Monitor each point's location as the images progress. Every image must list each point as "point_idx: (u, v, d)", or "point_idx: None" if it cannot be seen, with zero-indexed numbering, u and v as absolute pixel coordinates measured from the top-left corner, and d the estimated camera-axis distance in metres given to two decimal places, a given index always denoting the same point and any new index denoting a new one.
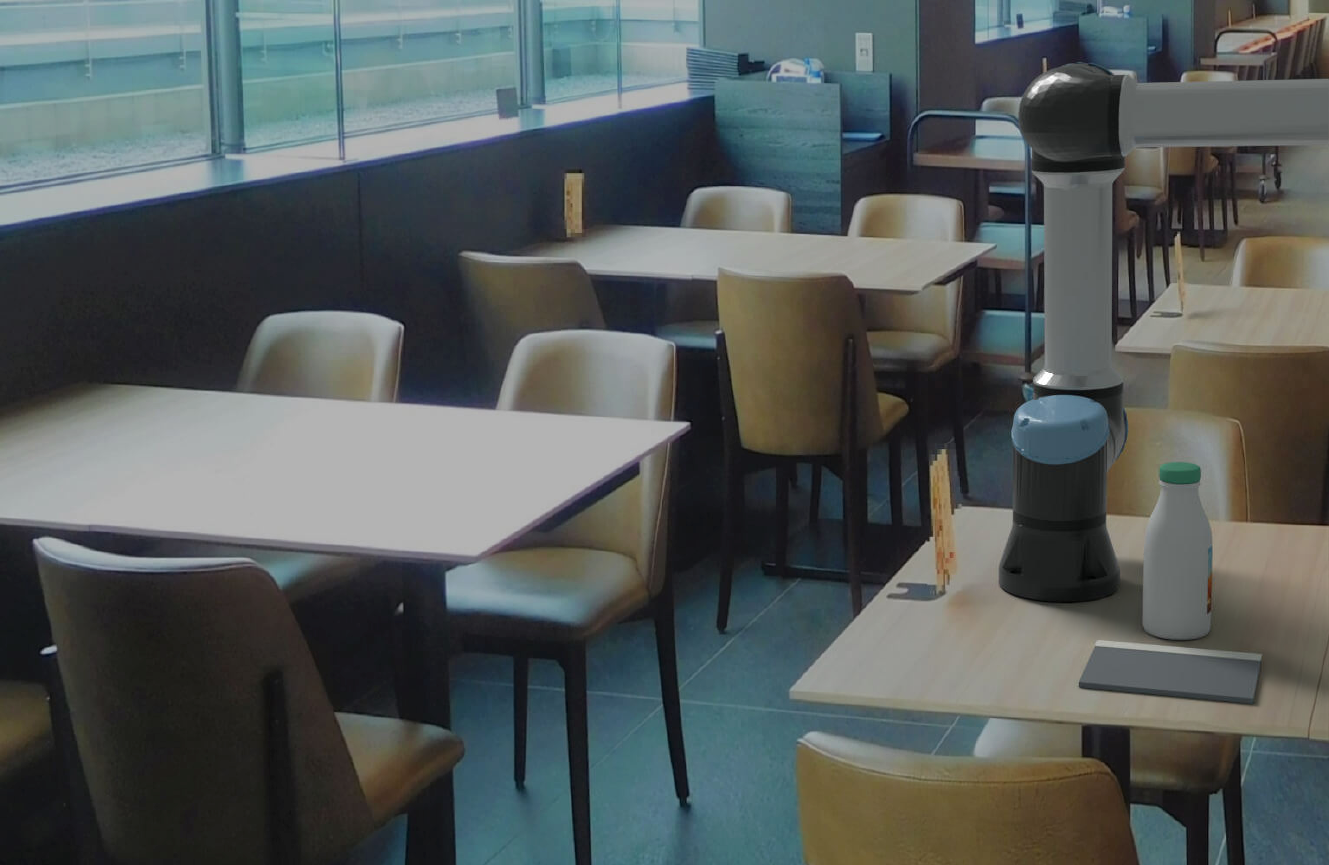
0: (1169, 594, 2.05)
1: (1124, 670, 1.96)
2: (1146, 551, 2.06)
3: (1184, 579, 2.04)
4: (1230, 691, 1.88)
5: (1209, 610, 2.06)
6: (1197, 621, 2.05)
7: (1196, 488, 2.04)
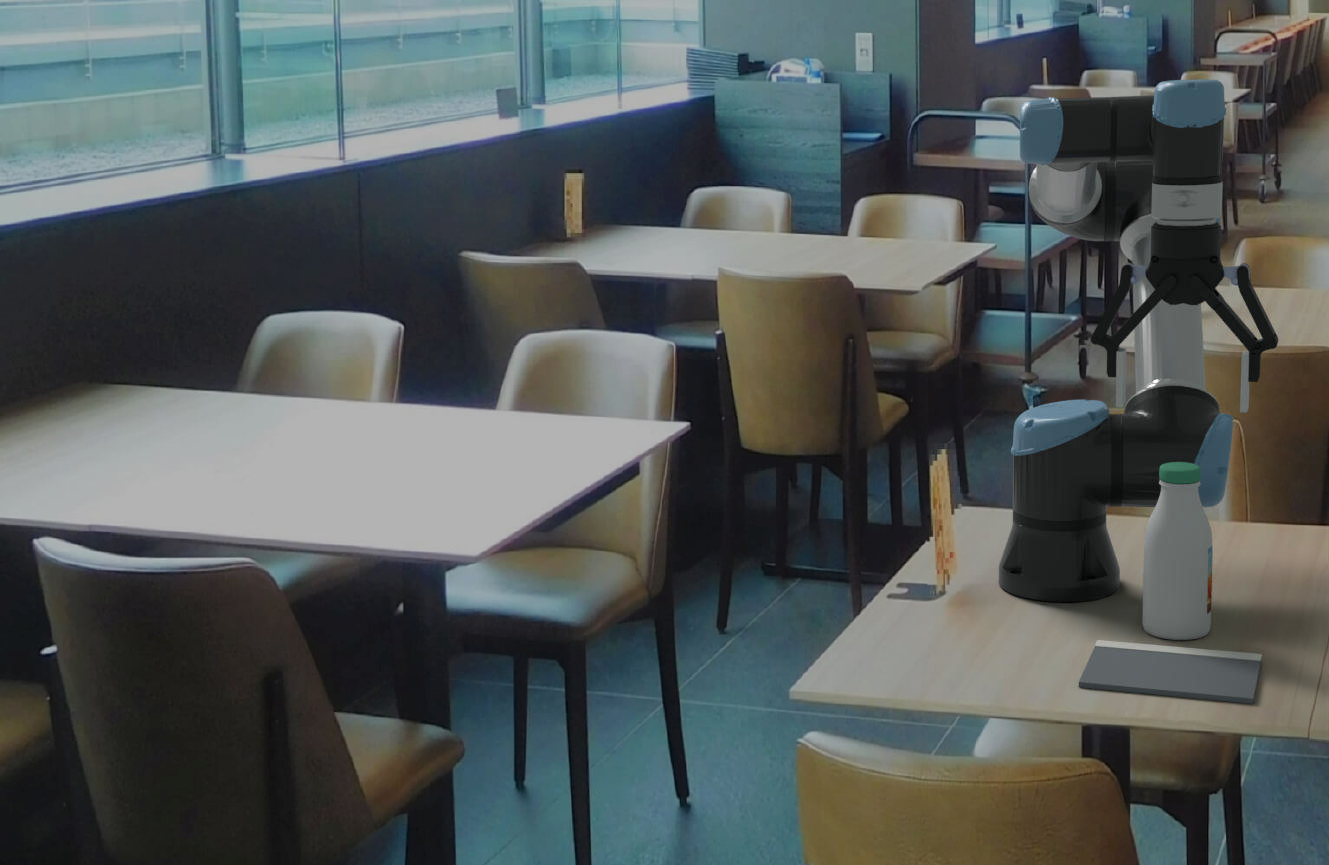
0: (1169, 594, 2.05)
1: (1124, 670, 1.96)
2: (1146, 551, 2.06)
3: (1184, 579, 2.04)
4: (1230, 691, 1.88)
5: (1209, 610, 2.06)
6: (1197, 621, 2.05)
7: (1196, 488, 2.04)
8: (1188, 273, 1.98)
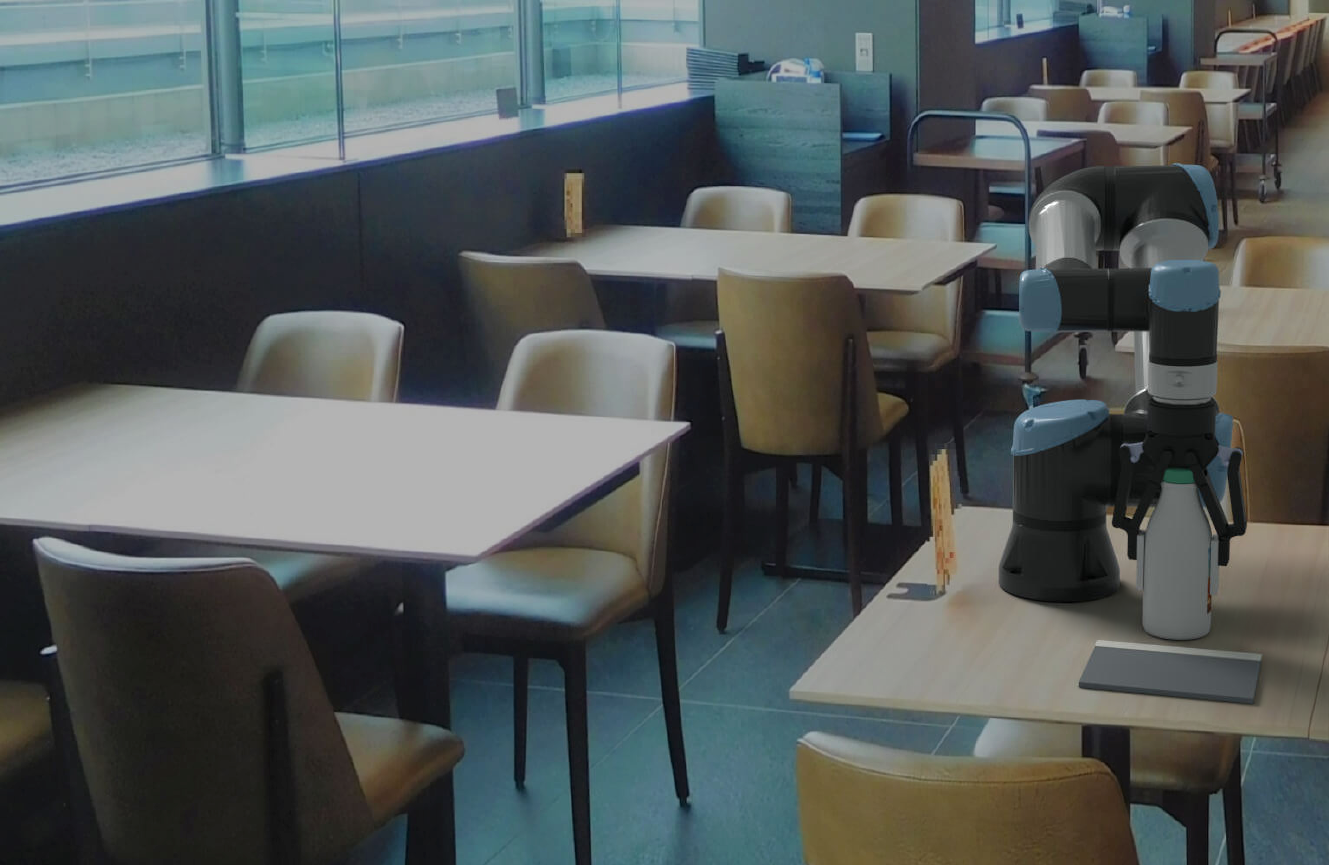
0: (1169, 594, 2.05)
1: (1124, 670, 1.96)
2: (1146, 551, 2.06)
3: (1184, 579, 2.04)
4: (1230, 691, 1.88)
5: (1209, 610, 2.06)
6: (1197, 621, 2.05)
7: (1196, 488, 2.04)
8: (1185, 441, 2.03)
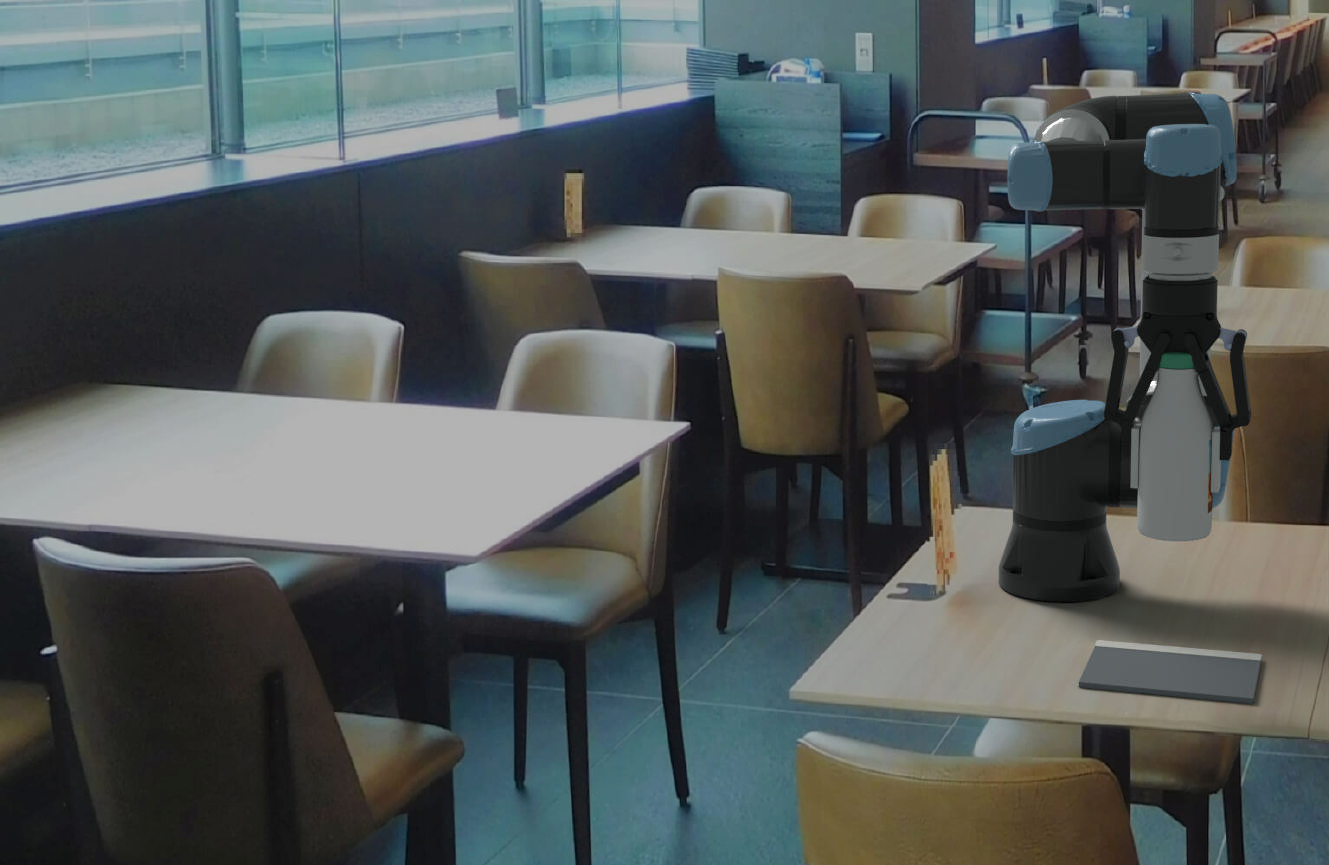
0: (1166, 491, 1.87)
1: (1124, 670, 1.96)
2: (1141, 445, 1.89)
3: (1183, 474, 1.86)
4: (1230, 691, 1.88)
5: (1210, 509, 1.89)
6: (1197, 520, 1.88)
7: (1196, 374, 1.86)
8: (1184, 323, 1.85)
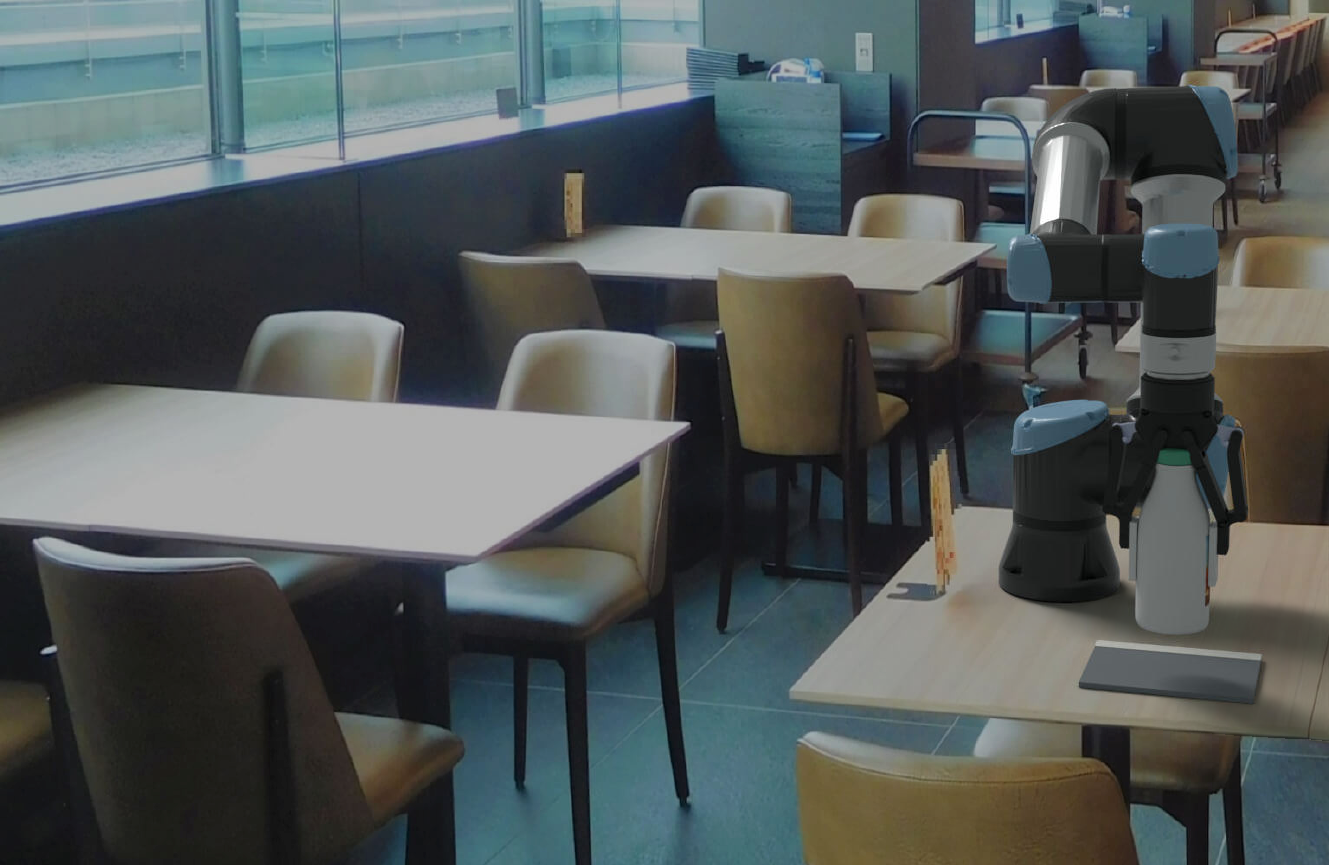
0: (1164, 585, 1.89)
1: (1124, 670, 1.96)
2: (1139, 538, 1.91)
3: (1180, 569, 1.88)
4: (1230, 691, 1.88)
5: (1207, 602, 1.91)
6: (1194, 614, 1.90)
7: (1193, 470, 1.88)
8: (1181, 420, 1.87)
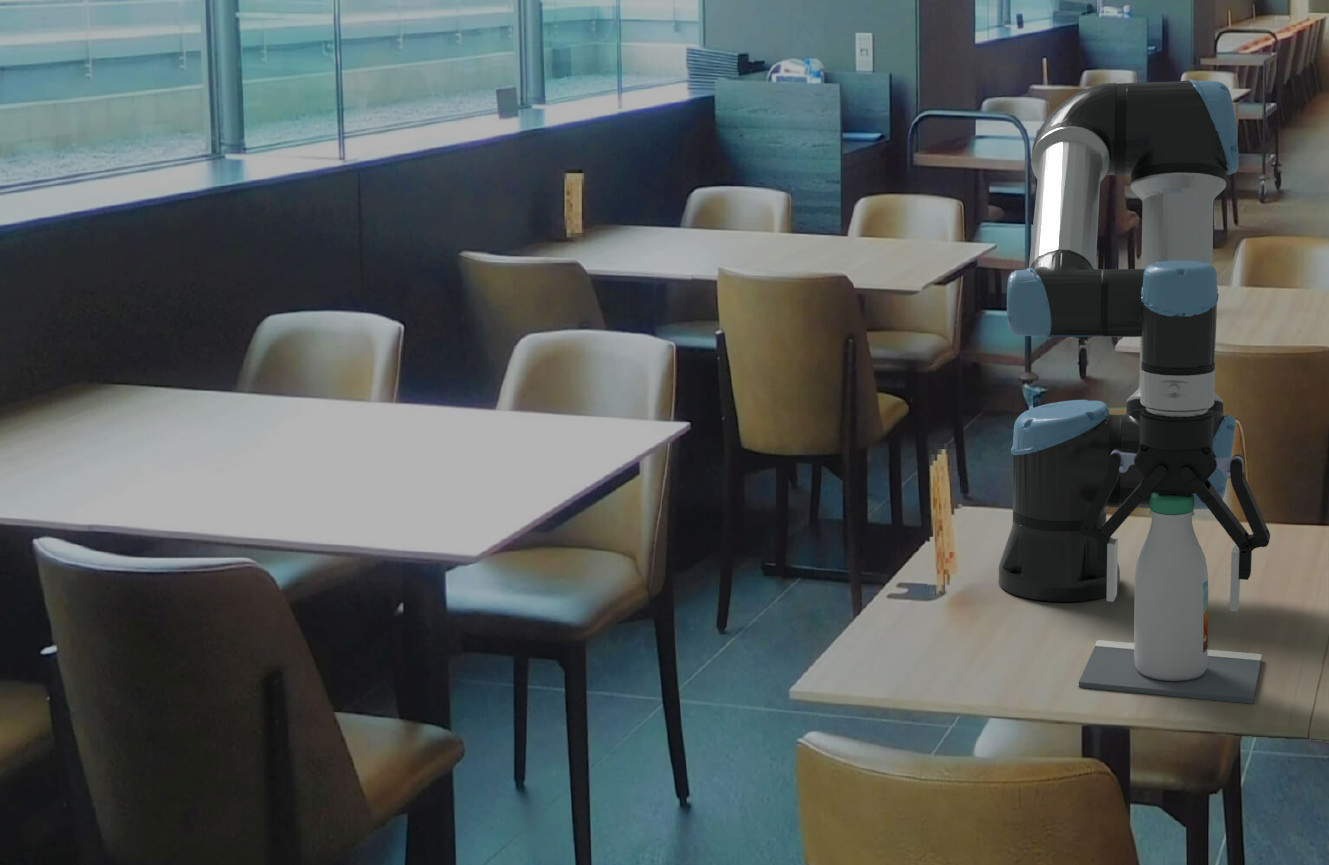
0: (1162, 633, 1.90)
1: (1124, 670, 1.96)
2: (1137, 586, 1.92)
3: (1178, 616, 1.89)
4: (1230, 691, 1.88)
5: (1205, 648, 1.92)
6: (1193, 660, 1.91)
7: (1189, 518, 1.89)
8: (1179, 462, 1.88)
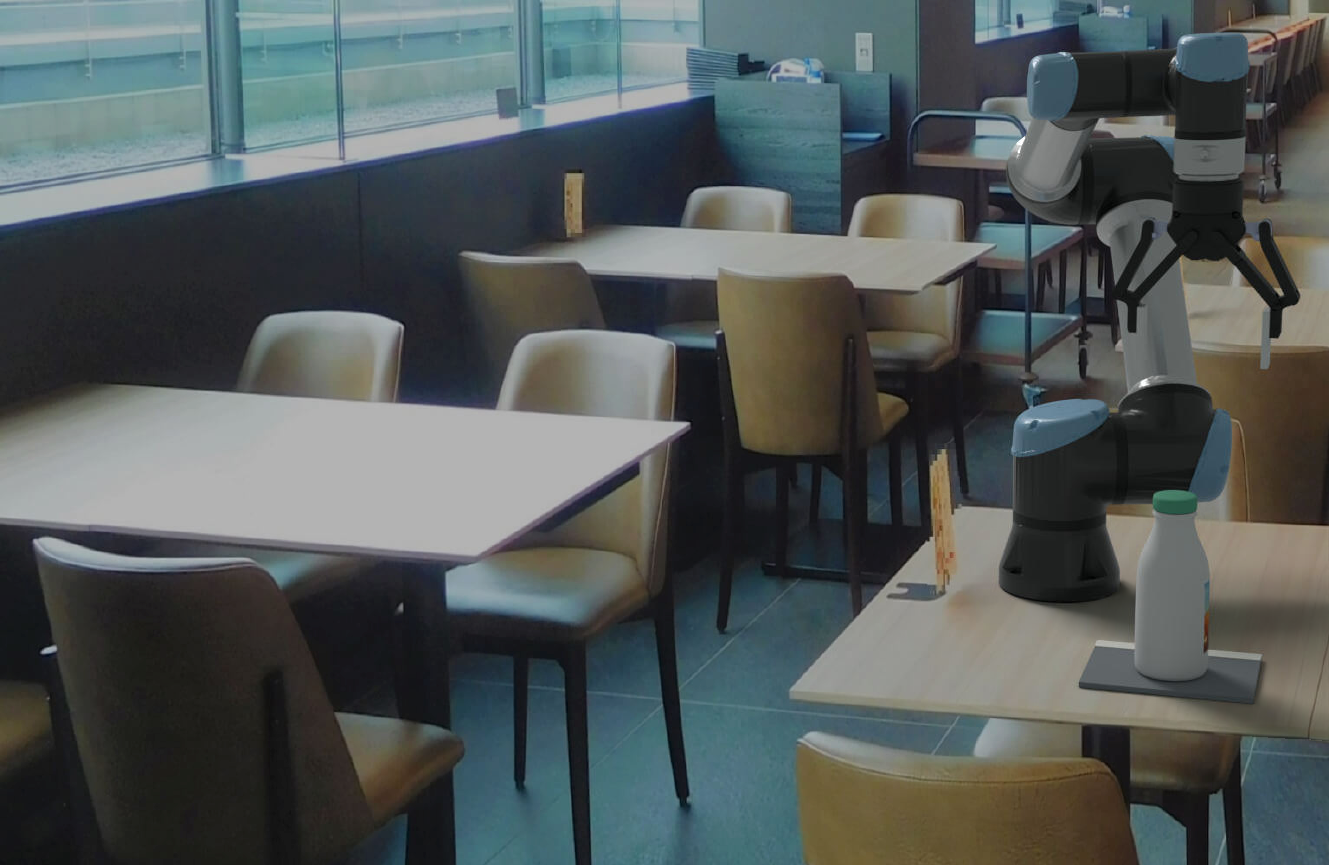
0: (1163, 633, 1.91)
1: (1124, 670, 1.96)
2: (1138, 585, 1.92)
3: (1179, 616, 1.89)
4: (1230, 691, 1.88)
5: (1206, 649, 1.92)
6: (1193, 661, 1.91)
7: (1192, 519, 1.89)
8: (1209, 228, 1.97)
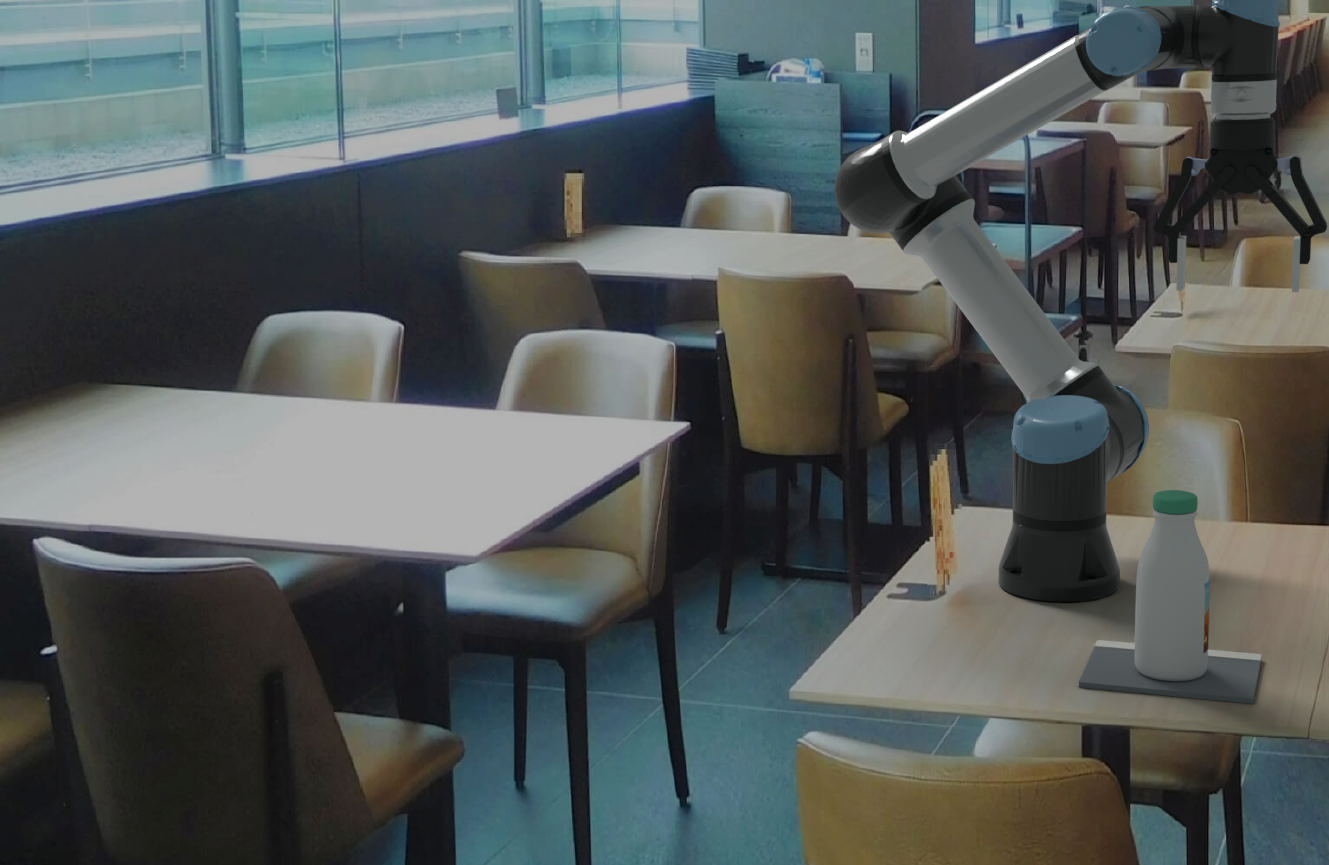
0: (1163, 633, 1.91)
1: (1124, 670, 1.96)
2: (1138, 585, 1.92)
3: (1179, 616, 1.89)
4: (1230, 691, 1.88)
5: (1206, 649, 1.92)
6: (1193, 661, 1.91)
7: (1192, 519, 1.89)
8: (1244, 164, 2.16)
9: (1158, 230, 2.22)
